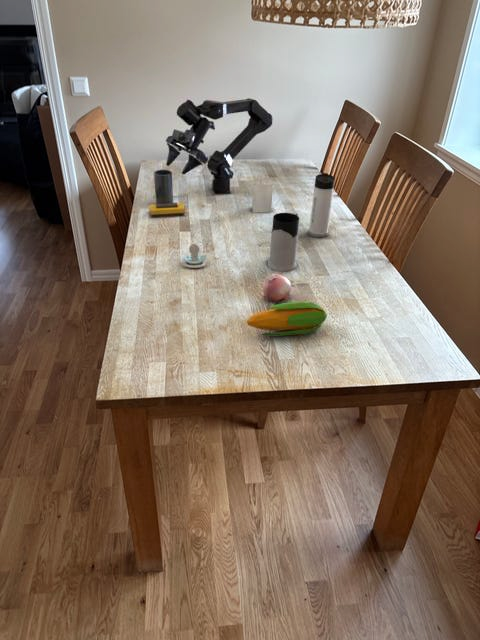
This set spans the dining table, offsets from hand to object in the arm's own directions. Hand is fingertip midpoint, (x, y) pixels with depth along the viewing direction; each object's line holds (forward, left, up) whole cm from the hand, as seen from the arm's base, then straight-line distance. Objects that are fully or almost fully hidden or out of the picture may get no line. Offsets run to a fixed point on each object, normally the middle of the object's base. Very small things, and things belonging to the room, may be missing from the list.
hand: (174, 169), depth 182 cm
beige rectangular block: (-30, +13, -13) cm, 35 cm away
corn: (-16, +89, -13) cm, 91 cm away
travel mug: (-44, +36, -13) cm, 59 cm away
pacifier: (+1, +51, -13) cm, 53 cm away
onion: (-18, +74, -13) cm, 77 cm away
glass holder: (-27, +53, -13) cm, 61 cm away
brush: (+5, +11, -12) cm, 17 cm away
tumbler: (+5, +3, -12) cm, 14 cm away
